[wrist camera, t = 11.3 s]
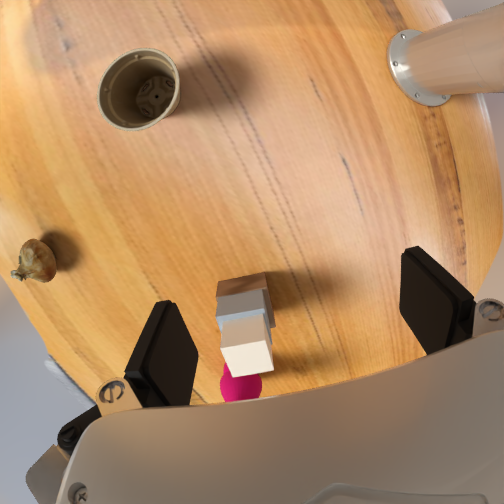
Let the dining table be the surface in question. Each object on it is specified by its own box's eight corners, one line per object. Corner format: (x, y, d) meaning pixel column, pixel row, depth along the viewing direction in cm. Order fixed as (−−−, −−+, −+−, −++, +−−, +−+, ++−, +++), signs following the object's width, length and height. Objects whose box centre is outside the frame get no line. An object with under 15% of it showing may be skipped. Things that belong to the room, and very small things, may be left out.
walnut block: (264, 271, 42) (266, 286, 38) (273, 309, 45) (275, 327, 41) (218, 281, 42) (215, 297, 38) (230, 318, 45) (229, 335, 41)
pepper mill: (268, 361, 49) (277, 458, 31) (248, 384, 51) (251, 474, 33) (232, 348, 48) (229, 448, 29) (214, 372, 50) (206, 465, 32)
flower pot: (203, 72, 31) (192, 55, 23) (180, 138, 34) (162, 139, 26) (139, 60, 29) (113, 44, 21) (118, 123, 33) (87, 123, 25)
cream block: (262, 313, 34) (265, 339, 30) (270, 343, 36) (274, 370, 32) (222, 321, 35) (220, 348, 30) (233, 350, 36) (232, 377, 32)
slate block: (261, 289, 38) (264, 308, 34) (269, 324, 40) (272, 344, 36) (218, 297, 38) (215, 316, 34) (229, 331, 41) (227, 351, 37)
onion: (59, 282, 42) (36, 306, 35) (28, 258, 40) (3, 278, 33) (69, 249, 40) (43, 271, 32) (36, 225, 38) (8, 242, 30)
